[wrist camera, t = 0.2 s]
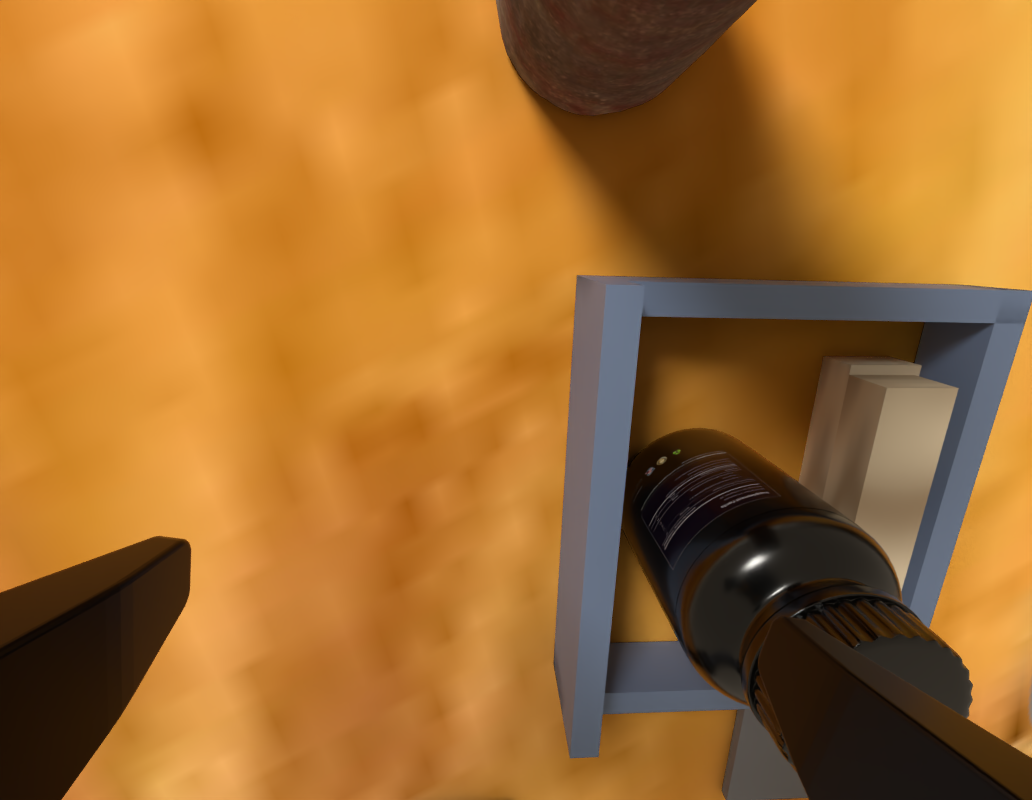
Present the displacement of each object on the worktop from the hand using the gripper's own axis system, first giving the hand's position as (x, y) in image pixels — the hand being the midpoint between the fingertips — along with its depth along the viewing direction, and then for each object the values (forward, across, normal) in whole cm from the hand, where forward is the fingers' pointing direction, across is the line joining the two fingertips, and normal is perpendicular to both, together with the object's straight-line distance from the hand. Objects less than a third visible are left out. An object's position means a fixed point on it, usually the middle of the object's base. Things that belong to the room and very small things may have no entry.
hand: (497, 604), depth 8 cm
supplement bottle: (+14, -10, +4) cm, 18 cm away
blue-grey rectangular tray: (+14, -12, +3) cm, 19 cm away
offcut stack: (+15, -17, +3) cm, 22 cm away
